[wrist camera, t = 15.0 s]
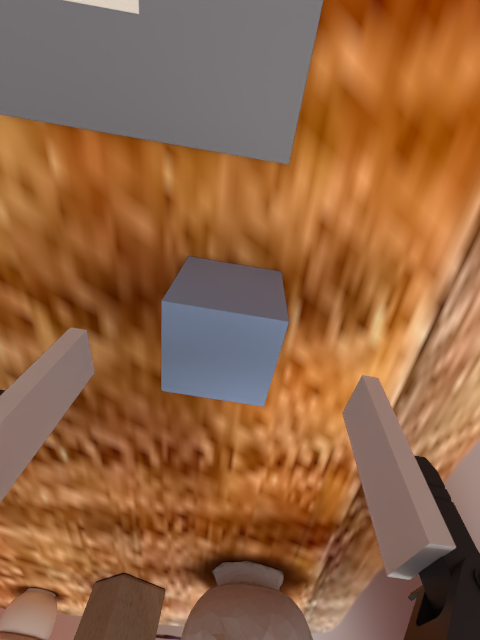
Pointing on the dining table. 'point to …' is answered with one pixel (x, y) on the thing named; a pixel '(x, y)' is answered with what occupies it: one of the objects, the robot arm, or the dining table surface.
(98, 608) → the wooden block
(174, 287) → the blue cube
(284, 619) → the ceramic pitcher
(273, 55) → the board
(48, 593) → the lidded jar
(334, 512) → the dining table surface
